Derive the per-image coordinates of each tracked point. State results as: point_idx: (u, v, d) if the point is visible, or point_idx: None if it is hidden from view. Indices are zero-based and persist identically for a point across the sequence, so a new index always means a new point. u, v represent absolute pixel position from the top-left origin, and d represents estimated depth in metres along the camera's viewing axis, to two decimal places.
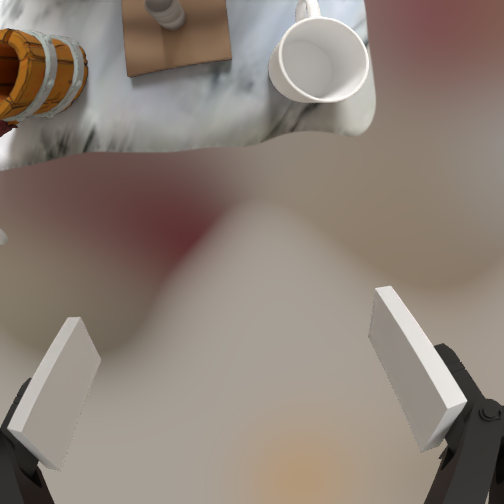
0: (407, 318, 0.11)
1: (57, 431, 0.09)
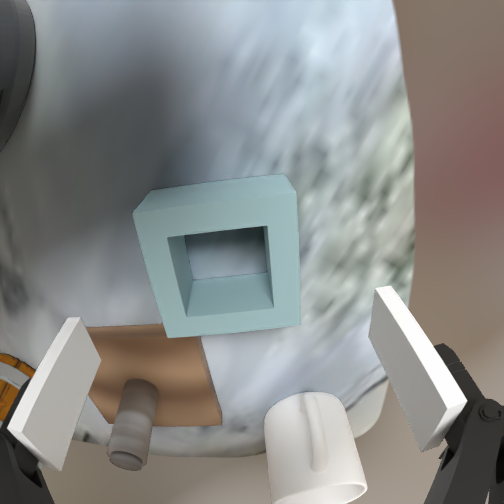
0: (407, 318, 0.11)
1: (57, 431, 0.09)
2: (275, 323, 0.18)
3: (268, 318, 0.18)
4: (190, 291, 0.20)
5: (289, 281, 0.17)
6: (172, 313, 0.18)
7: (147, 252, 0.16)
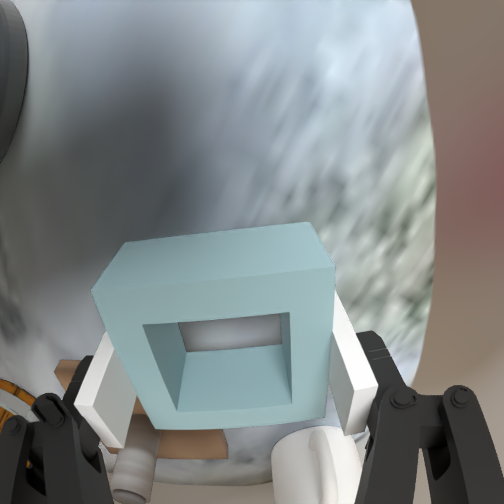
0: (335, 304, 0.12)
1: (121, 406, 0.10)
2: (292, 418, 0.13)
3: (284, 413, 0.13)
4: (182, 371, 0.15)
5: (315, 376, 0.12)
6: (158, 407, 0.12)
7: (118, 341, 0.11)
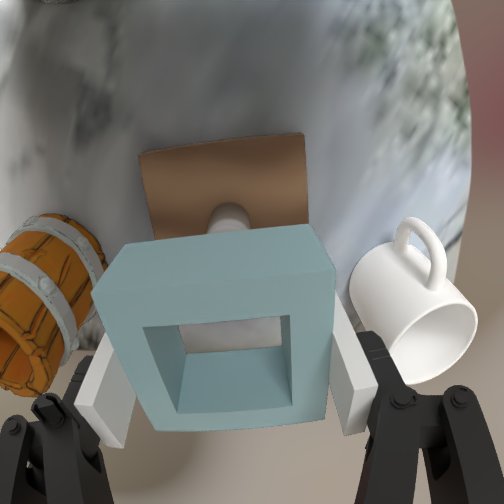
0: (335, 304, 0.12)
1: (121, 406, 0.10)
2: (292, 419, 0.13)
3: (284, 415, 0.13)
4: (182, 373, 0.15)
5: (315, 378, 0.12)
6: (158, 409, 0.12)
7: (117, 343, 0.11)
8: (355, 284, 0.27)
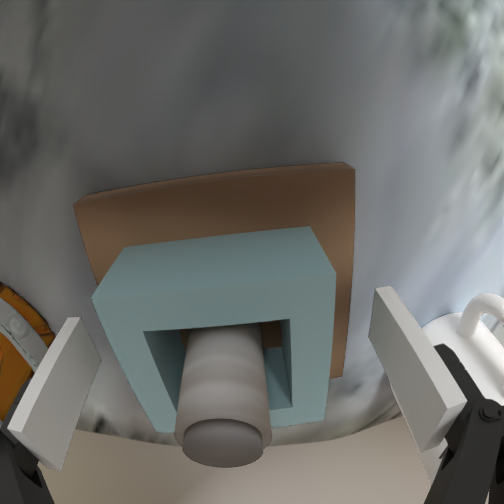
0: (407, 318, 0.11)
1: (57, 431, 0.09)
2: (293, 420, 0.13)
3: (284, 417, 0.13)
4: None
5: (315, 380, 0.12)
6: (159, 411, 0.12)
7: (118, 347, 0.11)
8: None
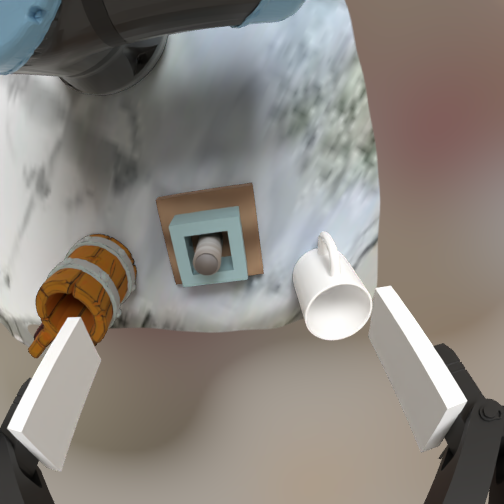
0: (407, 318, 0.11)
1: (57, 431, 0.09)
2: (235, 278, 0.39)
3: (231, 275, 0.38)
4: None
5: (239, 256, 0.37)
6: (185, 273, 0.38)
7: (175, 243, 0.36)
8: (294, 276, 0.43)
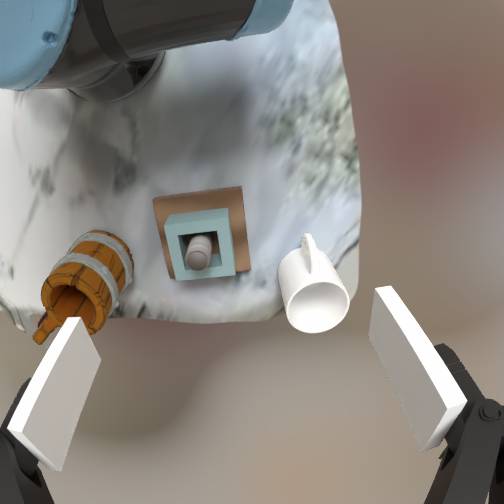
0: (407, 318, 0.11)
1: (57, 431, 0.09)
2: (223, 273, 0.42)
3: (220, 271, 0.42)
4: None
5: (228, 254, 0.41)
6: (178, 268, 0.41)
7: (169, 241, 0.40)
8: (279, 272, 0.47)
